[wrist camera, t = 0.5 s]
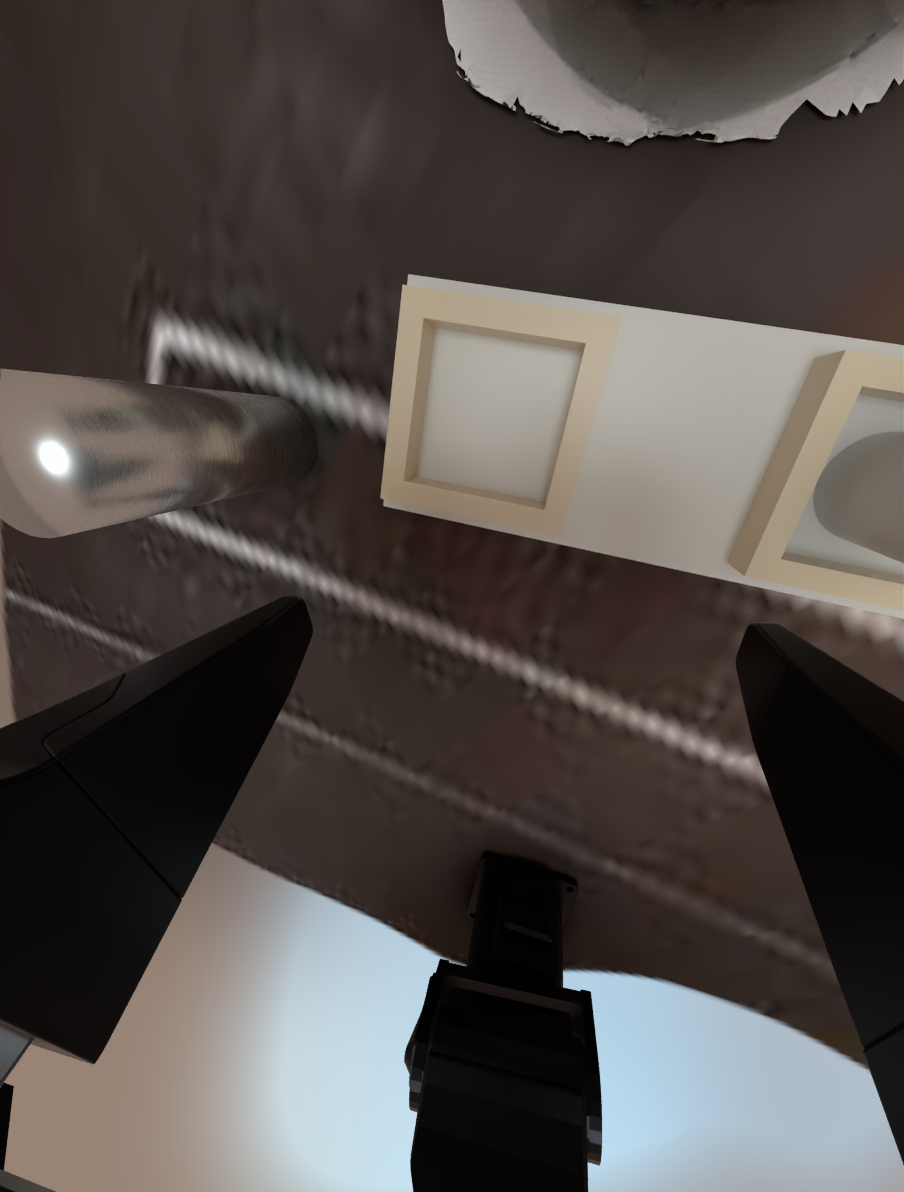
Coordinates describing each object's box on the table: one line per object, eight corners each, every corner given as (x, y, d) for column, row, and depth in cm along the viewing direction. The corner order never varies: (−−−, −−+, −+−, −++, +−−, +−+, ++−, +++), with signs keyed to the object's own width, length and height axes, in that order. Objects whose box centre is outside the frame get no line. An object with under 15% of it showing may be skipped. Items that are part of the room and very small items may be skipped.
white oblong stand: (923, 619, 20) (1458, 904, 8) (387, 504, 24) (213, 586, 12) (1079, 374, 16) (2509, 240, 4) (412, 278, 20) (191, 53, 8)
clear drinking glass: (314, 492, 24) (99, 552, 13) (240, 476, 25) (-29, 520, 13) (318, 404, 23) (75, 383, 11) (239, 389, 23) (-70, 354, 12)
